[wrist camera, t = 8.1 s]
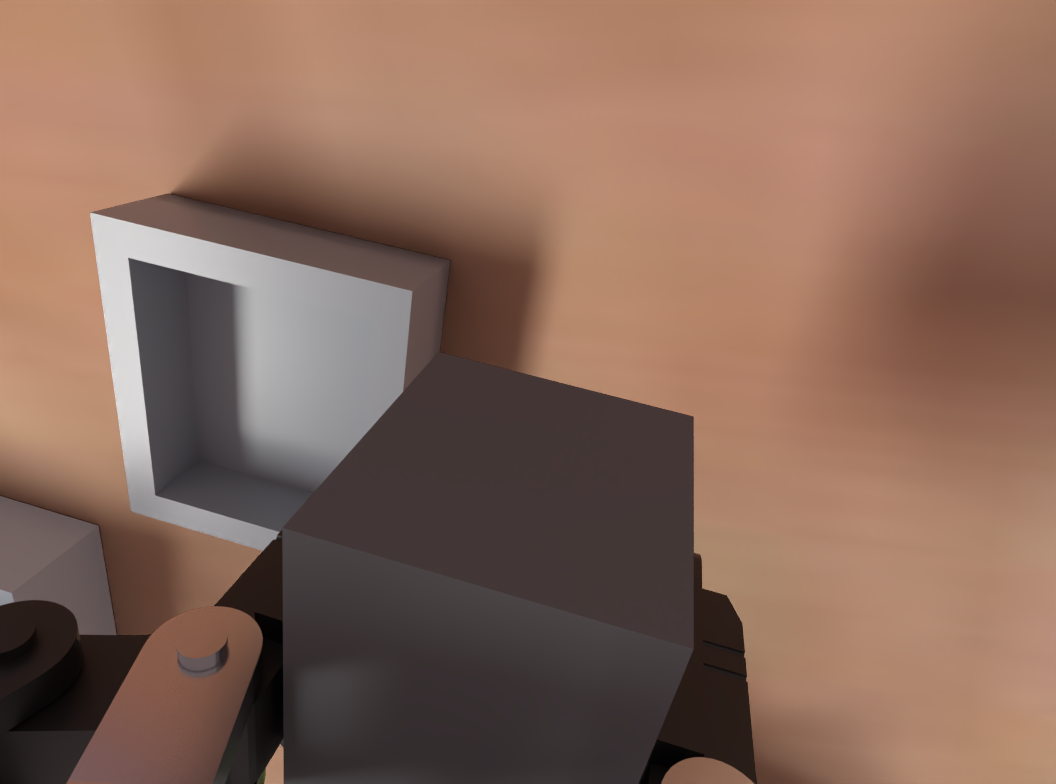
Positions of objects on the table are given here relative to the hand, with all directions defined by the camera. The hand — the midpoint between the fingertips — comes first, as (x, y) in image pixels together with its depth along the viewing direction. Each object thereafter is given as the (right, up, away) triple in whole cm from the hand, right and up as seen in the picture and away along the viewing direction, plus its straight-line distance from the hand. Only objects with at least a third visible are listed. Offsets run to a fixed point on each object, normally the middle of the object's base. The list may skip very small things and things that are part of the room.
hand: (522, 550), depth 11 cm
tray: (-7, +3, +11) cm, 13 cm away
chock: (0, 0, 0) cm, 0 cm away
